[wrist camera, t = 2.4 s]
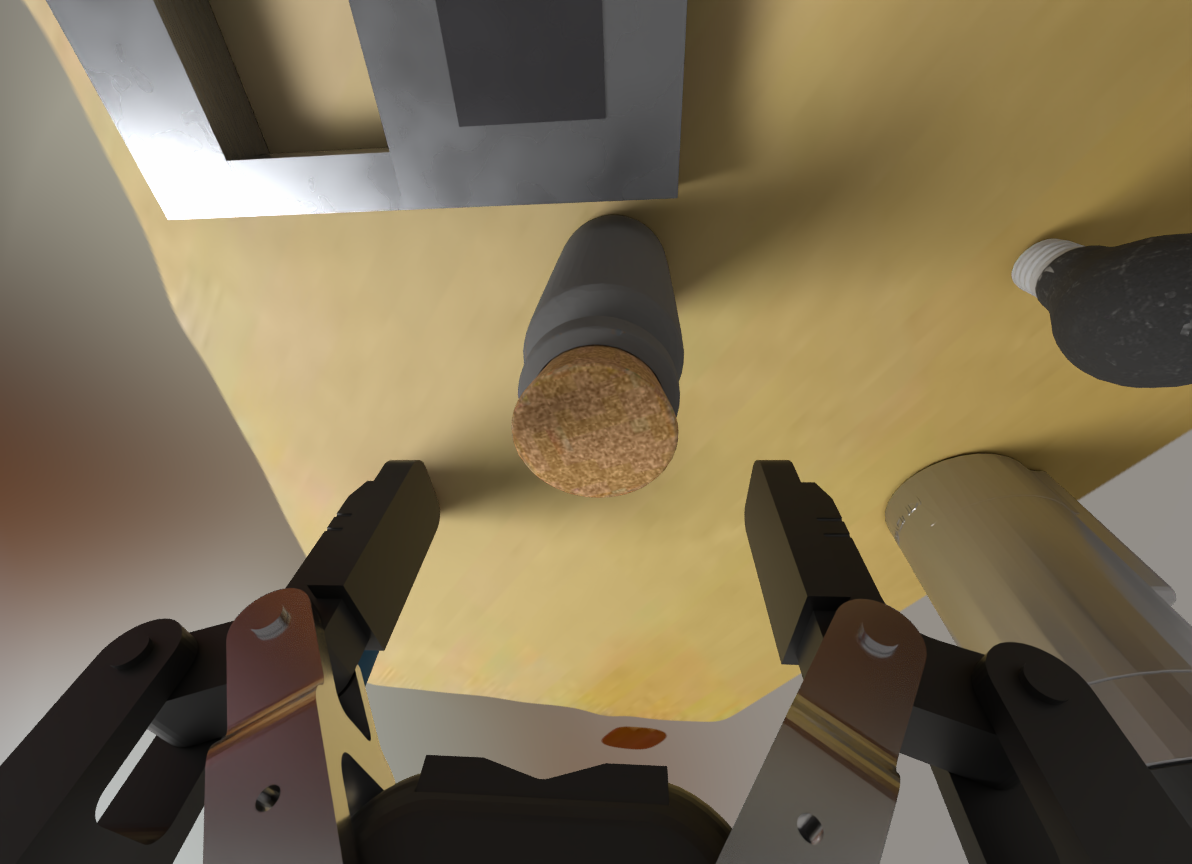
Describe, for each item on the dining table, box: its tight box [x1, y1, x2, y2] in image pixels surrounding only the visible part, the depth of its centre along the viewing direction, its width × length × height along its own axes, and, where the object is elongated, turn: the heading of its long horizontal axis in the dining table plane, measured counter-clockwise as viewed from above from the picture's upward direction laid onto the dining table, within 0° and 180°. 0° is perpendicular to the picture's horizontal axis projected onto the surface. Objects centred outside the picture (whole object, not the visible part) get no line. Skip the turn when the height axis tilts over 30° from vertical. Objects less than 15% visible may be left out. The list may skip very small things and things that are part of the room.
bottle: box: [512, 215, 684, 498], centre depth 19 cm, size 6×6×15 cm
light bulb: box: [1012, 233, 1192, 388], centre depth 19 cm, size 6×6×10 cm
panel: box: [46, 0, 687, 220], centre depth 18 cm, size 24×12×3 cm, turn 93°
